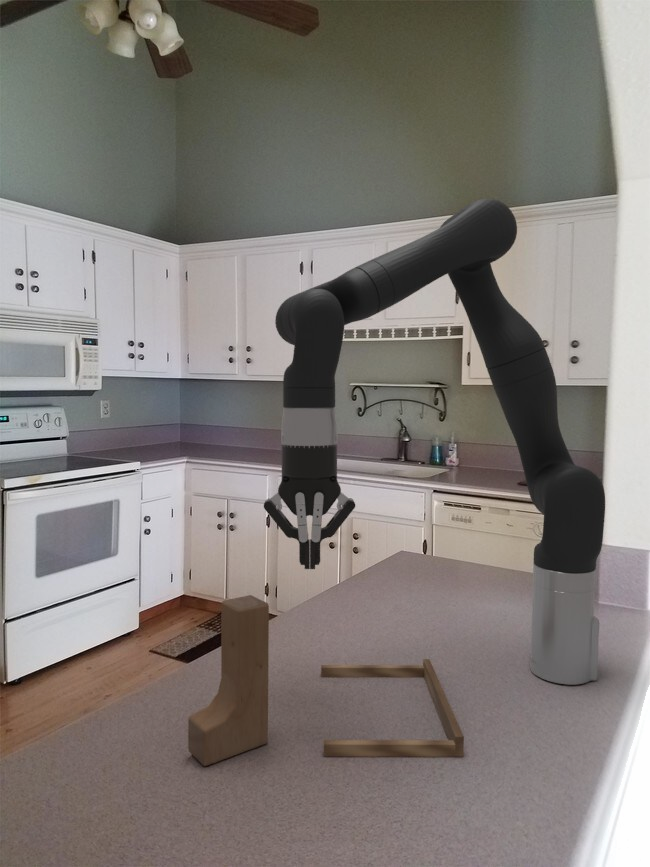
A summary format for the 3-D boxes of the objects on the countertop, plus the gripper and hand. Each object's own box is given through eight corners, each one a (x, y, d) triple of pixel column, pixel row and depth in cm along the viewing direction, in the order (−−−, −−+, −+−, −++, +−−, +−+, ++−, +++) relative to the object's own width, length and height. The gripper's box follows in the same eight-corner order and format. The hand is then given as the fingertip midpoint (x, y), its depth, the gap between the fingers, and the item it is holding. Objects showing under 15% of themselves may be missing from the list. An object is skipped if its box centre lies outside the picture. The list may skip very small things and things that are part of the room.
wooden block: (203, 768, 75) (204, 617, 74) (187, 751, 79) (186, 607, 78) (269, 743, 81) (270, 602, 80) (250, 728, 84) (251, 593, 83)
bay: (429, 674, 102) (429, 659, 101) (463, 756, 79) (463, 736, 78) (321, 674, 101) (321, 658, 101) (323, 756, 78) (323, 736, 78)
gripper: (356, 439, 91) (356, 560, 92) (262, 439, 91) (263, 561, 92) (360, 443, 84) (360, 575, 85) (258, 443, 83) (259, 576, 84)
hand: (309, 567), depth 88 cm, fingers closed
